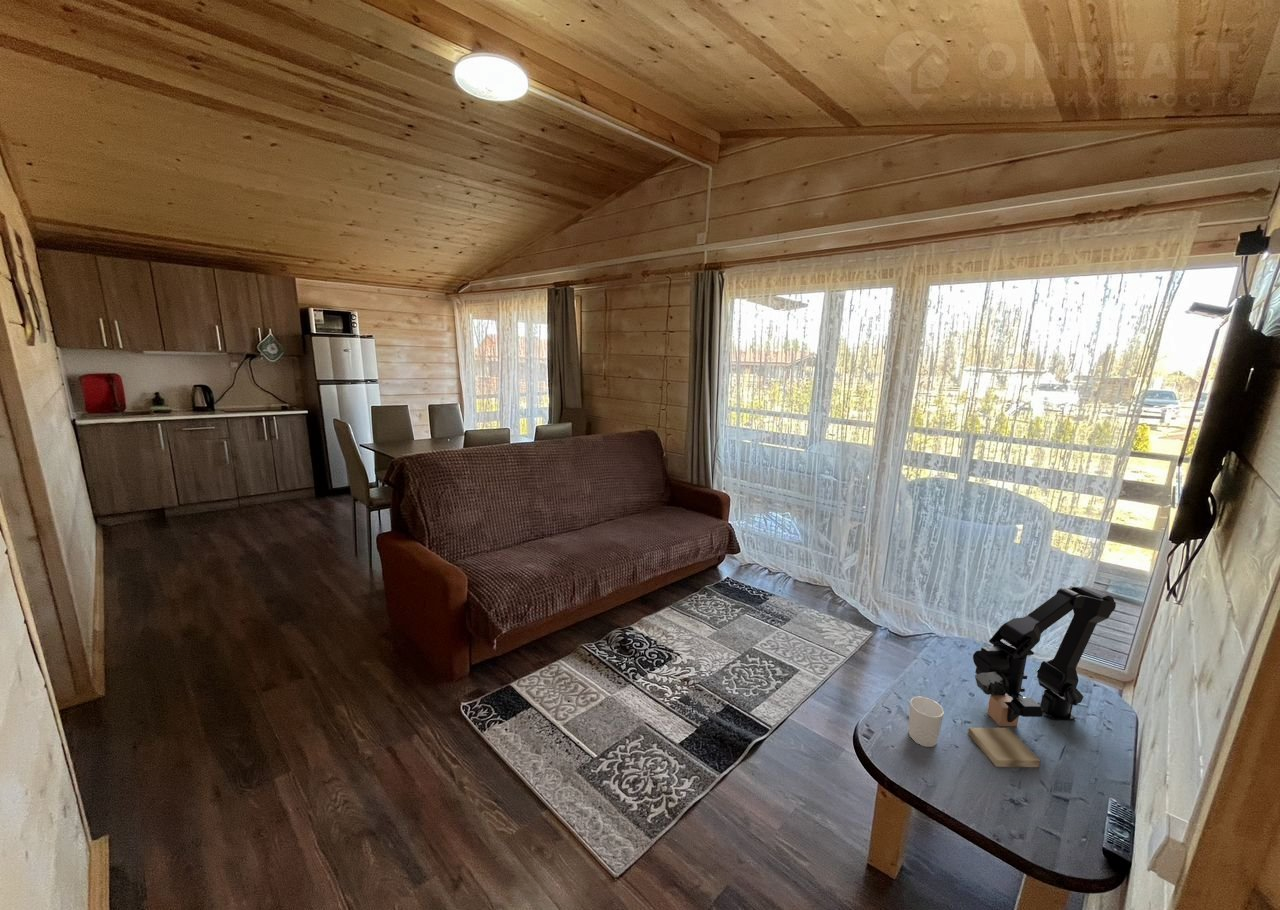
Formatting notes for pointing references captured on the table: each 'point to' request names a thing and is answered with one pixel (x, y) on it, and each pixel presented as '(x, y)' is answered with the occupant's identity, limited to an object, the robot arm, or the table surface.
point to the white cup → (925, 721)
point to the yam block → (1000, 710)
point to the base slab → (1003, 747)
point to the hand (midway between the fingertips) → (1002, 714)
